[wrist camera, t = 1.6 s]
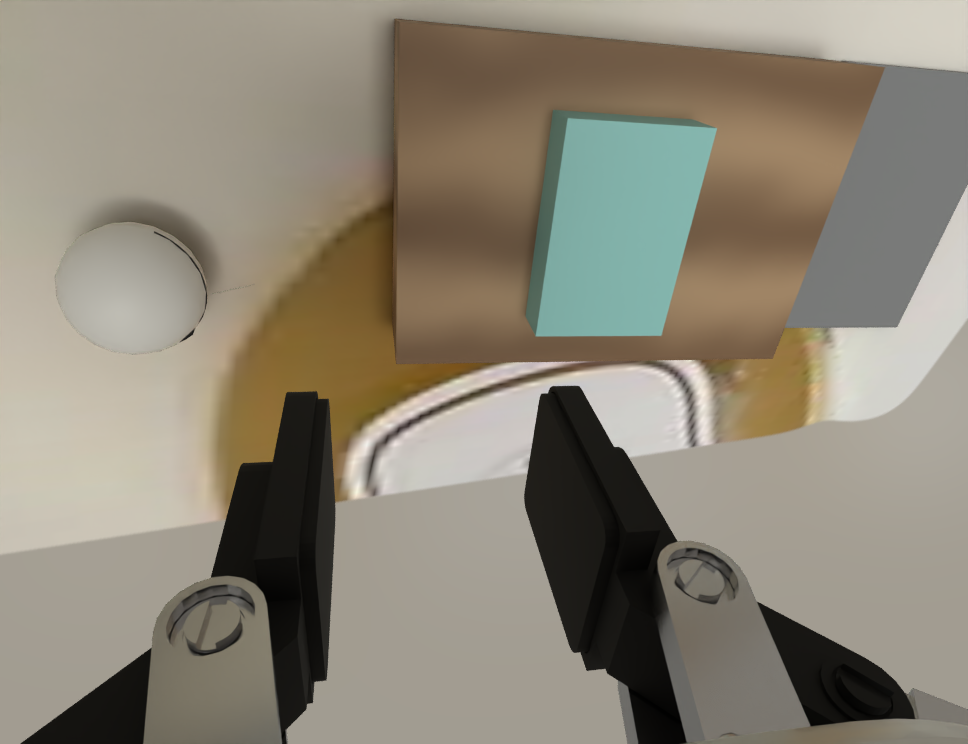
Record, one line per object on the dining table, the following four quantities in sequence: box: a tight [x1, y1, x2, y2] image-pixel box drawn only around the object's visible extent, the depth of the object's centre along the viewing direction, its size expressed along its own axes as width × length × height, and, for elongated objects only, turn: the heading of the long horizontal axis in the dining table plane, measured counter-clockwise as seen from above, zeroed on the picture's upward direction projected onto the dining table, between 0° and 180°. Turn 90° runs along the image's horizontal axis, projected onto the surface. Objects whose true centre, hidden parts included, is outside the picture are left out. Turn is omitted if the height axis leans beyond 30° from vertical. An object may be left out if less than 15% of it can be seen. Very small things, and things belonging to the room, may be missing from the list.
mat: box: [785, 61, 968, 328], centre depth 33 cm, size 14×10×1 cm
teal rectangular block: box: [525, 110, 717, 336], centre depth 25 cm, size 9×6×2 cm, turn 175°
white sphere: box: [55, 222, 254, 355], centre depth 26 cm, size 8×6×6 cm
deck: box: [393, 19, 885, 364], centre depth 28 cm, size 14×20×4 cm
